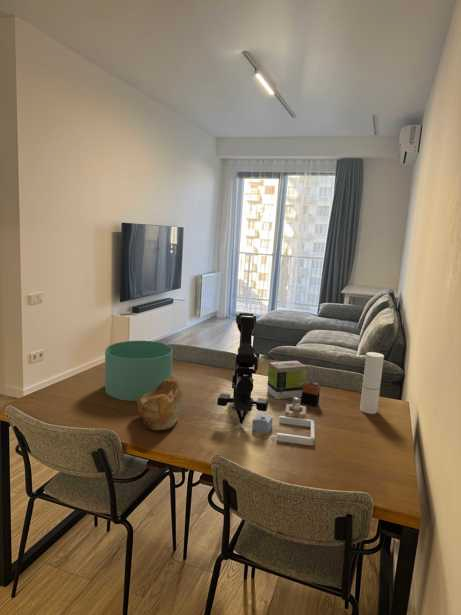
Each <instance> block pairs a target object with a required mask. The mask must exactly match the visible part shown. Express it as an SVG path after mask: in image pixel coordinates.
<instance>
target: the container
mask: <svg viewBox="0 0 461 615" xmlns="http://www.w3.org/2000/svg"><path fill="white" fill-rule="evenodd" d="M173 351H174V350H173V348H172V346H170V345H168V344H166V343H163V342H158V341H154V340H153V341H152V340H128V341H127V340H126V341H120V342H116V343H111V344H110V345H108V346H107V347H106V348H105V350H104V353H105V355H104V392H105V394H107V395H108V396H110V397H112V398H114V399H117V400H122V401H128V402H137V400H138V399H139V398H140V397H141V396H142V395H144V394H146V393H149V392H151V391H153V390H155V389H156V388H157V387H158V386H159V385H160V384H161V383H162V382H163V381H164V380H166V379H168V378H169V377H170V376H173Z"/></svg>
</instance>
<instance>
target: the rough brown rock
mask: <svg viewBox="0 0 461 615" xmlns="http://www.w3.org/2000/svg"><path fill="white" fill-rule="evenodd" d="M182 401H183V390H182V389H181V386H180V382H179V380H178V379H177V378H175V377H174V376H173V375H172V376H170V377H169V378H168V379H166V380H164V381H163V382H162V383H161V384H160V385H159V386H158V387H157V388H156V389H155V390H153V391H151V392H149V393H146V394H144V395H142V396H141V397H140V398H139V399H138V400H137V401H136V404H137V409H138V412H139V415H140V416H141V419H142V422H143V425H144V427H146V429H147V430H153V431H165V430H168V429H169V430H170V429H171V428H172V427H174V426H175V425H176V423H177V420H178V418H179V416H180V414H181V404H182Z"/></svg>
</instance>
